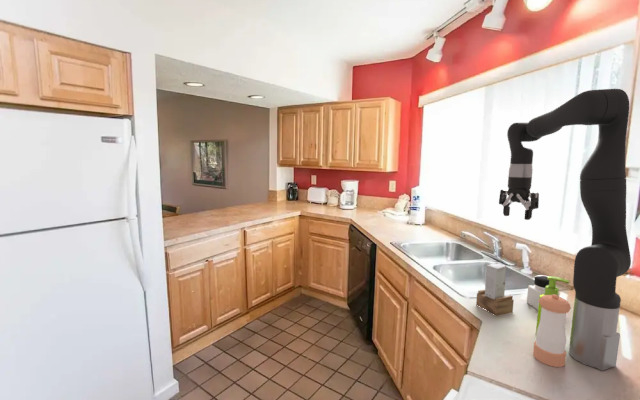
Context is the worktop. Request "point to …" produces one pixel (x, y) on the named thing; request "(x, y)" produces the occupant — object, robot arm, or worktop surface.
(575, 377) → the worktop surface
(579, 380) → the worktop surface
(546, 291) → the soap dispenser
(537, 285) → the medicine bottle
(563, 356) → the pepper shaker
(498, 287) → the skincare box
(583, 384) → the worktop surface
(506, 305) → the display pedestal
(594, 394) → the worktop surface
